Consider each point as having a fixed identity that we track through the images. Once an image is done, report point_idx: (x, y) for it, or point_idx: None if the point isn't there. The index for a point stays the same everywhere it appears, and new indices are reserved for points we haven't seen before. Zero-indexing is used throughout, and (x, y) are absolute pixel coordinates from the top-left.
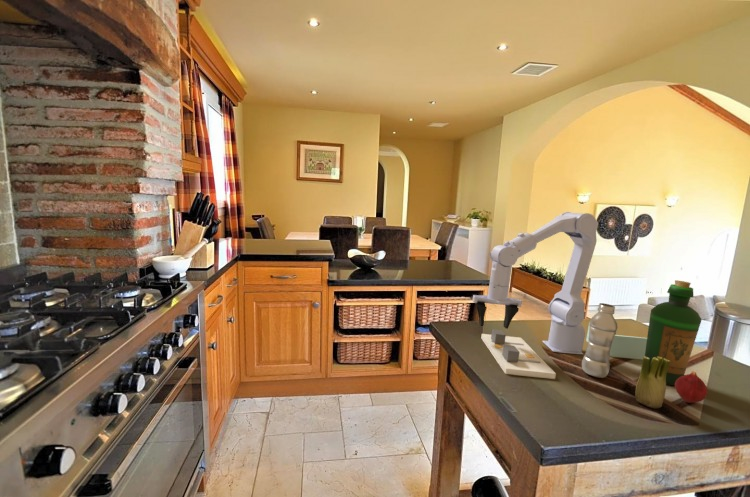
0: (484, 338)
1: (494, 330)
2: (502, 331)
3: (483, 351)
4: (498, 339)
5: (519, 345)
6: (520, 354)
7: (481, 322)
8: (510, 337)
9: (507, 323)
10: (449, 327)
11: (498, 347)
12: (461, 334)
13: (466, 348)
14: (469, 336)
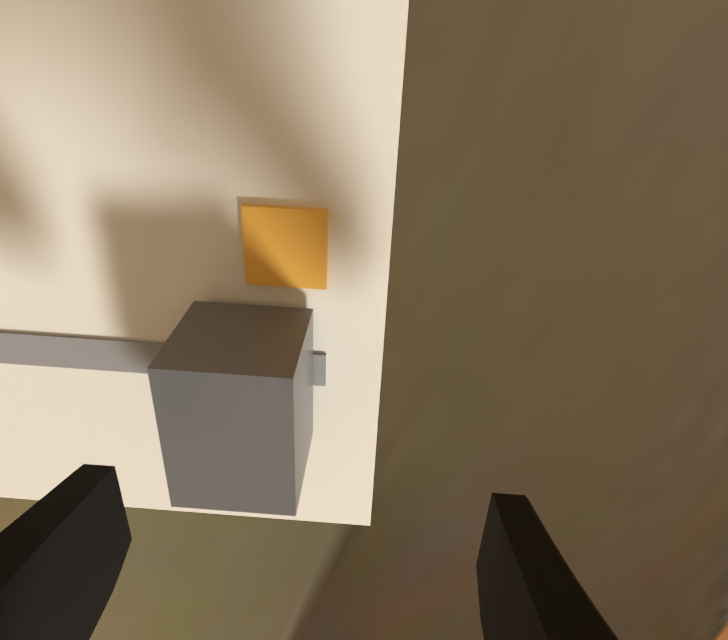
0: (376, 438)
1: (274, 486)
2: (167, 473)
3: (480, 186)
4: (261, 334)
5: (13, 316)
6: (35, 33)
7: (552, 544)
8: None
9: (48, 529)
10: None
11: (296, 206)
12: None
13: (667, 234)
14: (479, 505)
